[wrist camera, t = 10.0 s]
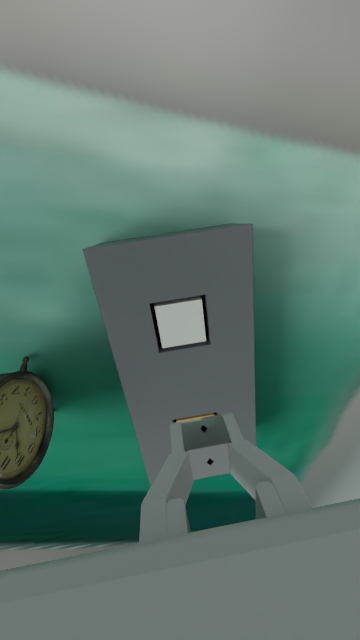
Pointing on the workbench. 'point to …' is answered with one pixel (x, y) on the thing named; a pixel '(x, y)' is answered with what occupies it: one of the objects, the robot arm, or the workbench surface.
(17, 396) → the alarm clock
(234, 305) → the control box
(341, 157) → the workbench surface
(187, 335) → the white key
